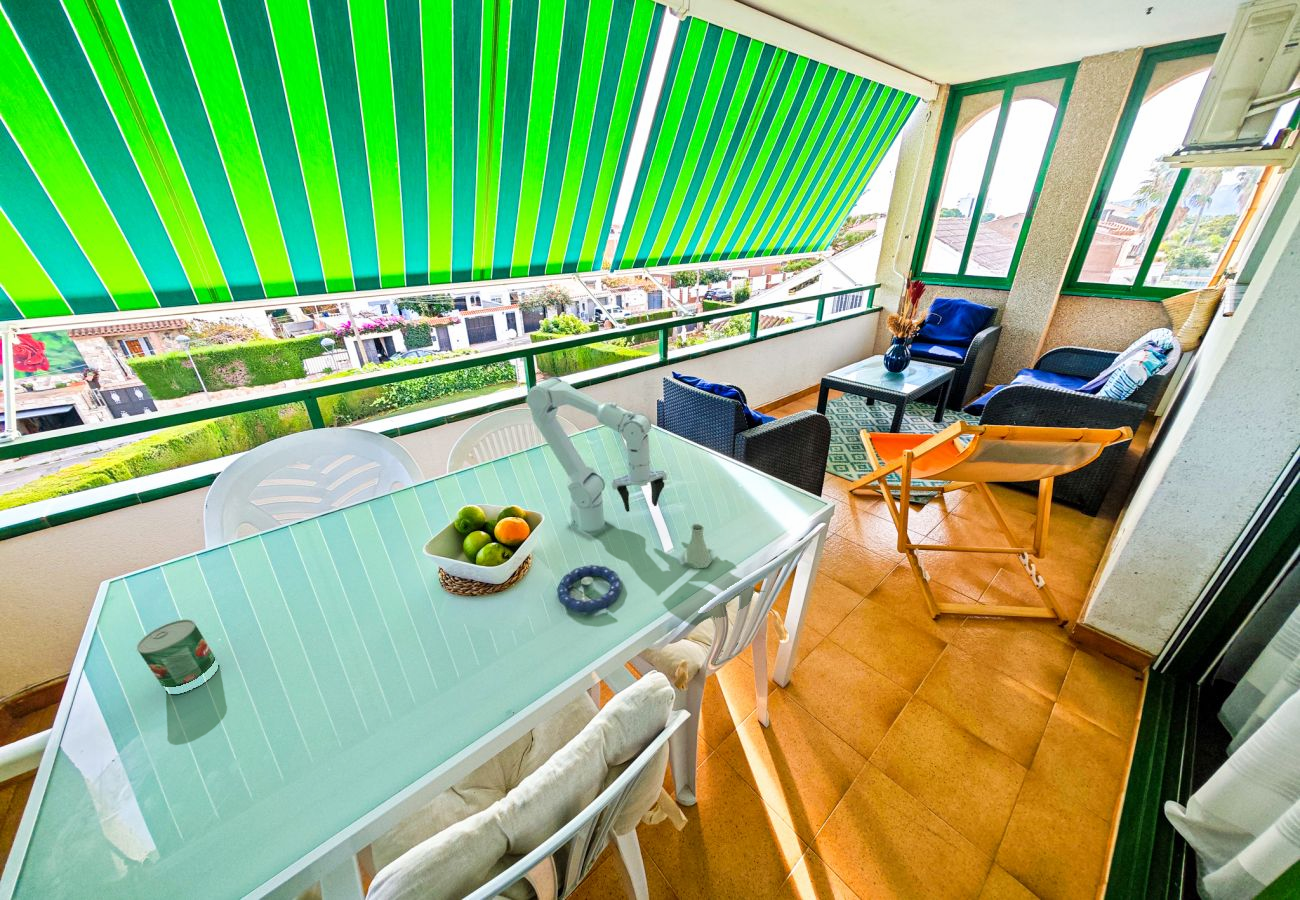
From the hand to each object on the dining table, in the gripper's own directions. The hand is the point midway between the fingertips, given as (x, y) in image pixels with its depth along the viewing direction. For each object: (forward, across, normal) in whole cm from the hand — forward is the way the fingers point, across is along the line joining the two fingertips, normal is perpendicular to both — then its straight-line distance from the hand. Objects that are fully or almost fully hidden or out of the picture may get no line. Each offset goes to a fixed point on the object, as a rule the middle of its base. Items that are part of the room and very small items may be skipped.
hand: (640, 507), depth 123 cm
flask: (+10, +10, -15) cm, 20 cm away
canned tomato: (+10, -96, -13) cm, 97 cm away
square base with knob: (+9, -19, -18) cm, 27 cm away
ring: (+7, -18, -18) cm, 27 cm away
